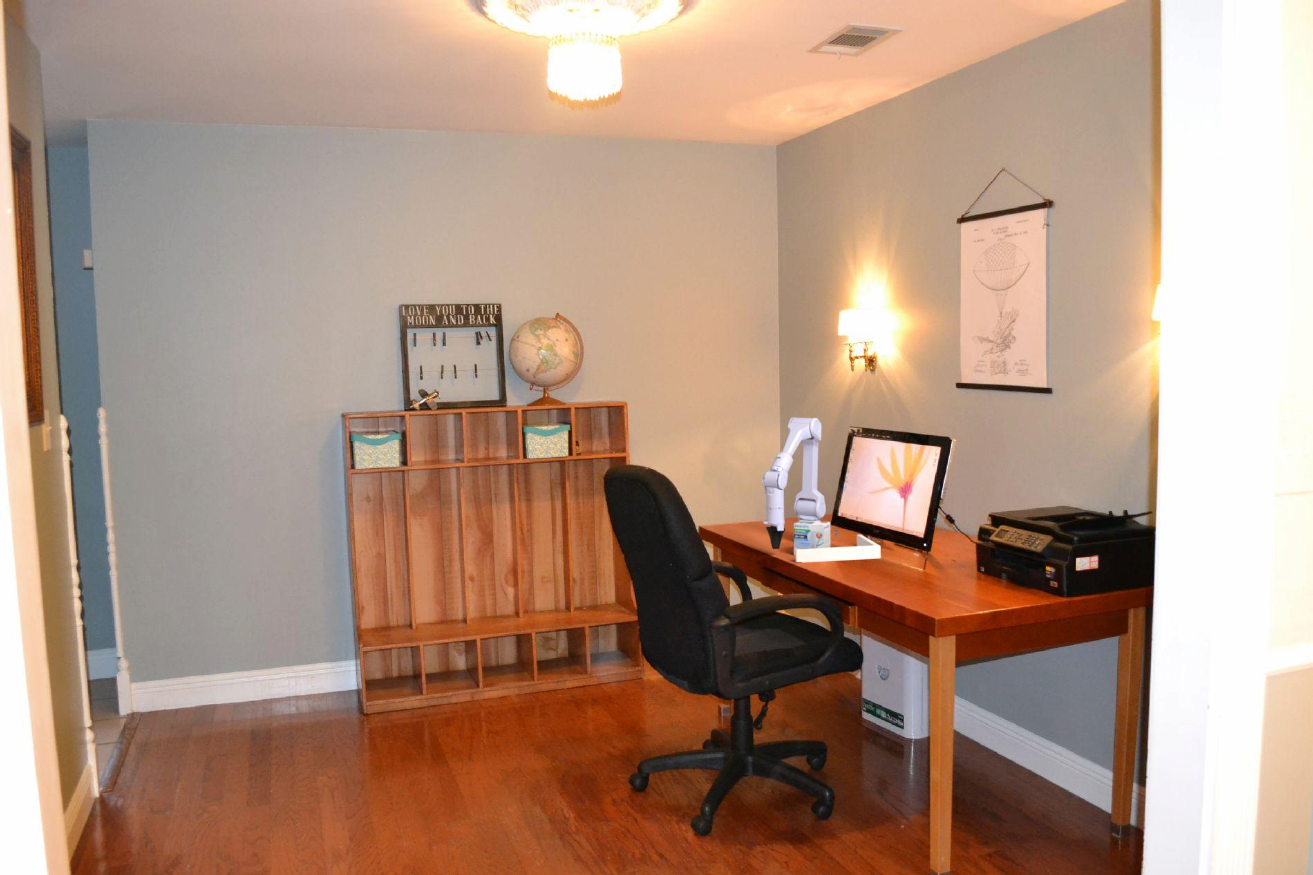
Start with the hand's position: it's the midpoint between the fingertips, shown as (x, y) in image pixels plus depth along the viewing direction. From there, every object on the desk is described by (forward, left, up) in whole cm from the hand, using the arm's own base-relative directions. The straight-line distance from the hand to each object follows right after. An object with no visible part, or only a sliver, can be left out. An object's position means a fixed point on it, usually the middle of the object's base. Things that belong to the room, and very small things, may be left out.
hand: (775, 548), depth 330 cm
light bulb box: (+1, +12, -3) cm, 12 cm away
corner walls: (+2, +18, -2) cm, 18 cm away
